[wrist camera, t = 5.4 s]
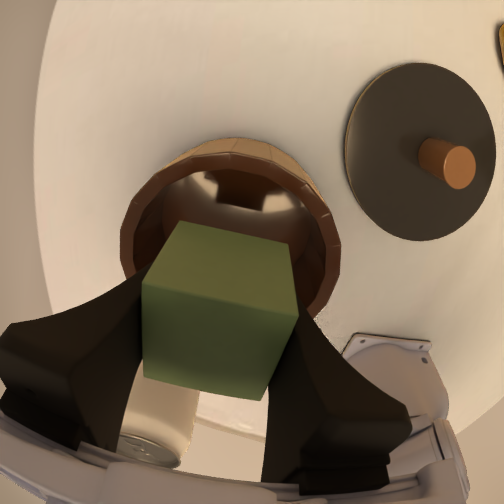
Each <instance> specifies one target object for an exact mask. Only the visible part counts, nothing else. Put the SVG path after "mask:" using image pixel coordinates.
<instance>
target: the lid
mask: <svg viewBox="0 0 504 504" xmlns="http://www.w3.org/2000/svg"><path fill="white" fill-rule="evenodd" d="M495 162H496V143H495V135H494V130H493V126H492V123H491V120H490V117H489V114H488V112H487V110H486V108H485V106H484V104H483V102H482V101H481V99H480V98H479V96H478V95H477V93H476V92H475V91H474V90H473V88H472V87H471V86H470V85H469V84H468V83H467V82H466V81H464V80H463V79H462V78H461V77H459V76H458V75H456V74H455V73H453V72H451V71H450V70H448V69H446V68H443V67H440V66H437V65H433V64H428V63H411V64H405V65H400V66H397V67H394V68H392V69H390V70H388V71H386V72H384V73H382V74H381V75H380V76H378V77H377V78H376V79H374V80H373V81H372V82H371V83H370V84H369V85H368V86H367V88H366V89H365V90H364V91H363V93H362V94H361V96H360V97H359V99H358V100H357V102H356V104H355V106H354V108H353V110H352V113H351V116H350V119H349V122H348V126H347V131H346V137H345V164H346V170H347V175H348V179H349V182H350V186H351V188H352V190H353V193H354V195H355V197H356V199H357V201H358V202H359V204H360V206H361V207H362V209H363V210H364V211H365V213H366V214H367V215H368V216H369V217H370V218H371V219H372V220H373V221H374V222H375V223H376V224H377V225H378V226H379V227H381V228H382V229H383V230H385V231H386V232H388V233H390V234H392V235H394V236H396V237H399V238H402V239H406V240H411V241H429V240H434V239H438V238H441V237H444V236H446V235H448V234H450V233H452V232H454V231H456V230H457V229H459V228H460V227H461V226H463V225H464V224H465V223H466V222H467V221H468V220H469V219H470V218H471V217H472V216H473V215H474V214H475V213H476V212H477V210H478V209H479V207H480V206H481V204H482V203H483V201H484V199H485V197H486V195H487V193H488V191H489V188H490V186H491V182H492V179H493V175H494V170H495Z"/></svg>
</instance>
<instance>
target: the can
mask: <svg viewBox="0 0 504 504" xmlns="http://www.w3.org/2000/svg"><path fill="white" fill-rule="evenodd" d="M199 394H200V391H199V390H194V389H189V388H185V387H181V386H176V385H172V384H168V383H164V382H160V381H156V380H153V379H149V378H145V377H144V376H143V359H142V361H141V363H140V365H139V368H138V370H137V373H136V376H135V379H134V382H133V385H132V389H131V392H130V395H129V399H128V403H127V406H126V410H125V414H124V418H123V422H122V426H121V430H120V435H119V440H118V445H117V450H116V454H119V455H122V456H125V457H128V458H131V459H135V460H138V461H142V462H145V463H149V464H153V465H157V466H161V467H165V468H169V469H173V468H176V467H178V466H179V465H180V464H181V461H180V458H181V457H182V456H183V455H184V453H185V452H186V451H187V450H188V448H189V446H190V442H191V438H192V433H193V427H194V422H195V416H196V411H197V405H198V400H199Z"/></svg>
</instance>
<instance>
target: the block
mask: <svg viewBox="0 0 504 504" xmlns="http://www.w3.org/2000/svg"><path fill="white" fill-rule="evenodd" d="M298 317H299V313H298V306H297V299H296V292H295V285H294V279H293V272H292V266H291V259H290V253H289V247H288V244H286V243H281V242H277V241H272V240H268V239H263V238H259V237H254V236H250V235H245V234H241V233H236V232H232V231H227V230H223V229H218V228H213V227H209V226H204V225H199V224H195V223H190V222H185V221H179V222H178V224H177V226H176V227H175V229H174V230H173V232H172V233H171V235H170V237H169V238H168V240H167V241H166V243H165V245H164V246H163V248H162V249H161V251H160V253H159V254H158V256H157V258H156V259H155V261H154V263H153V264H152V266H151V268H150V269H149V271H148V273H147V274H146V276H145V278H144V279H143V281H142V305H141V318H142V359H143V376H144V377H145V378H149V379H153V380H156V381H160V382H164V383H168V384H172V385H176V386H181V387H185V388H189V389H194V390H199V391H204V392H209V393H214V394H219V395H224V396H230V397H236V398H242V399H249V400H256V401H261V399H262V397H263V395H264V393H265V391H266V388H267V386H268V384H269V382H270V380H271V378H272V376H273V373H274V371H275V369H276V367H277V365H278V362H279V360H280V358H281V356H282V354H283V351H284V349H285V347H286V345H287V342H288V340H289V338H290V335H291V333H292V331H293V328H294V326H295V324H296V321H297V319H298Z"/></svg>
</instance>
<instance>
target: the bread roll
mask: <svg viewBox="0 0 504 504" xmlns="http://www.w3.org/2000/svg"><path fill="white" fill-rule="evenodd" d="M499 38H500V46H501V52H502V58H503V63H504V24H503V25H502V26H501V28H500V30H499Z"/></svg>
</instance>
